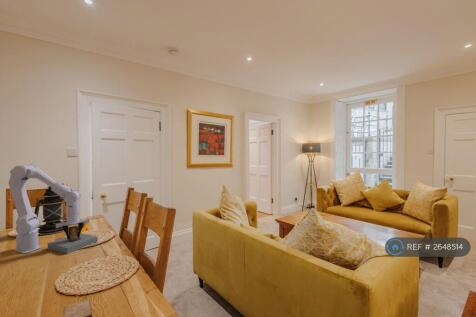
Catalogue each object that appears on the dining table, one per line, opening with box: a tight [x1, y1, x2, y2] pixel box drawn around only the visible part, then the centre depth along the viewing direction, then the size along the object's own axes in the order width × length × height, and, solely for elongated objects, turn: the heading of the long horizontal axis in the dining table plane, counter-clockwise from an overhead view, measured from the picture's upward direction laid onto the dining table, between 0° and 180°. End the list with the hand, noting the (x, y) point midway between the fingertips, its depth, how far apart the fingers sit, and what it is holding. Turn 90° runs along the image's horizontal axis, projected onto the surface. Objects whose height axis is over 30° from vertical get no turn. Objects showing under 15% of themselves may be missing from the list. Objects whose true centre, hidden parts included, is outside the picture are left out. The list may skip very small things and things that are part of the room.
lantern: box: [33, 185, 66, 236], centre depth 145 cm, size 20×16×30 cm
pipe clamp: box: [68, 223, 90, 234], centre depth 140 cm, size 12×4×6 cm, turn 172°
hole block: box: [47, 233, 99, 255], centre depth 123 cm, size 16×16×3 cm
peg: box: [68, 225, 78, 242], centre depth 122 cm, size 4×4×9 cm
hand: (73, 238), depth 123 cm, fingers closed on peg, 4 cm apart
